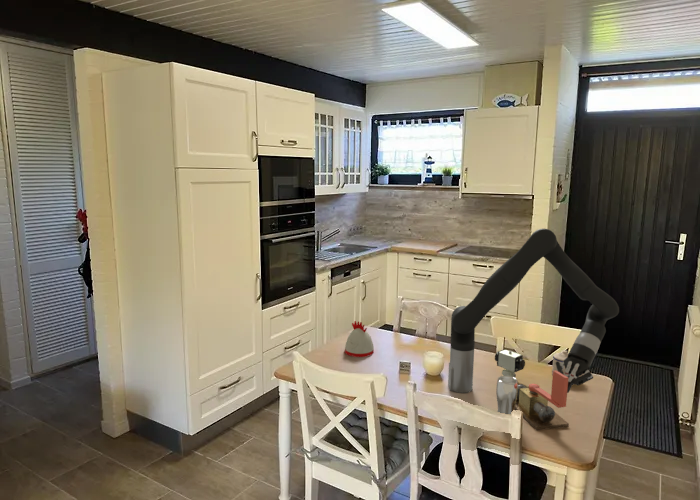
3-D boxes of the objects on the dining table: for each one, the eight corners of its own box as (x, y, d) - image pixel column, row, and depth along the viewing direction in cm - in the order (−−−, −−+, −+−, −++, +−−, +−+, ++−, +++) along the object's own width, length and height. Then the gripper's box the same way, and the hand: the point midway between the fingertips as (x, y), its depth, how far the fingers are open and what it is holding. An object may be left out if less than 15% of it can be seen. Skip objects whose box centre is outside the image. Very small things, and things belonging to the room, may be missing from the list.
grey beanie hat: (355, 344, 242) (356, 315, 240) (379, 350, 234) (379, 320, 232) (339, 352, 231) (339, 322, 228) (362, 359, 223) (363, 328, 220)
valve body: (568, 426, 165) (570, 403, 163) (536, 430, 162) (538, 406, 161) (533, 397, 186) (534, 376, 185) (504, 399, 184) (505, 378, 182)
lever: (526, 387, 174) (528, 357, 172) (535, 386, 175) (537, 356, 173) (559, 411, 157) (562, 378, 155) (568, 410, 158) (571, 377, 156)
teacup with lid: (569, 383, 198) (571, 356, 196) (547, 376, 205) (549, 350, 203) (580, 375, 207) (583, 349, 205) (559, 369, 213) (561, 343, 211)
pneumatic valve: (518, 384, 197) (519, 356, 196) (493, 375, 206) (494, 348, 204) (525, 380, 201) (527, 353, 199) (500, 371, 210) (502, 345, 208)
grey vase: (491, 415, 172) (494, 375, 170) (510, 414, 173) (513, 375, 170) (499, 425, 165) (501, 384, 163) (518, 424, 166) (521, 383, 163)
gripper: (562, 337, 168) (540, 380, 163) (600, 348, 158) (578, 394, 152) (569, 348, 172) (548, 390, 167) (607, 360, 162) (586, 405, 156)
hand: (562, 392), depth 160 cm, fingers closed
